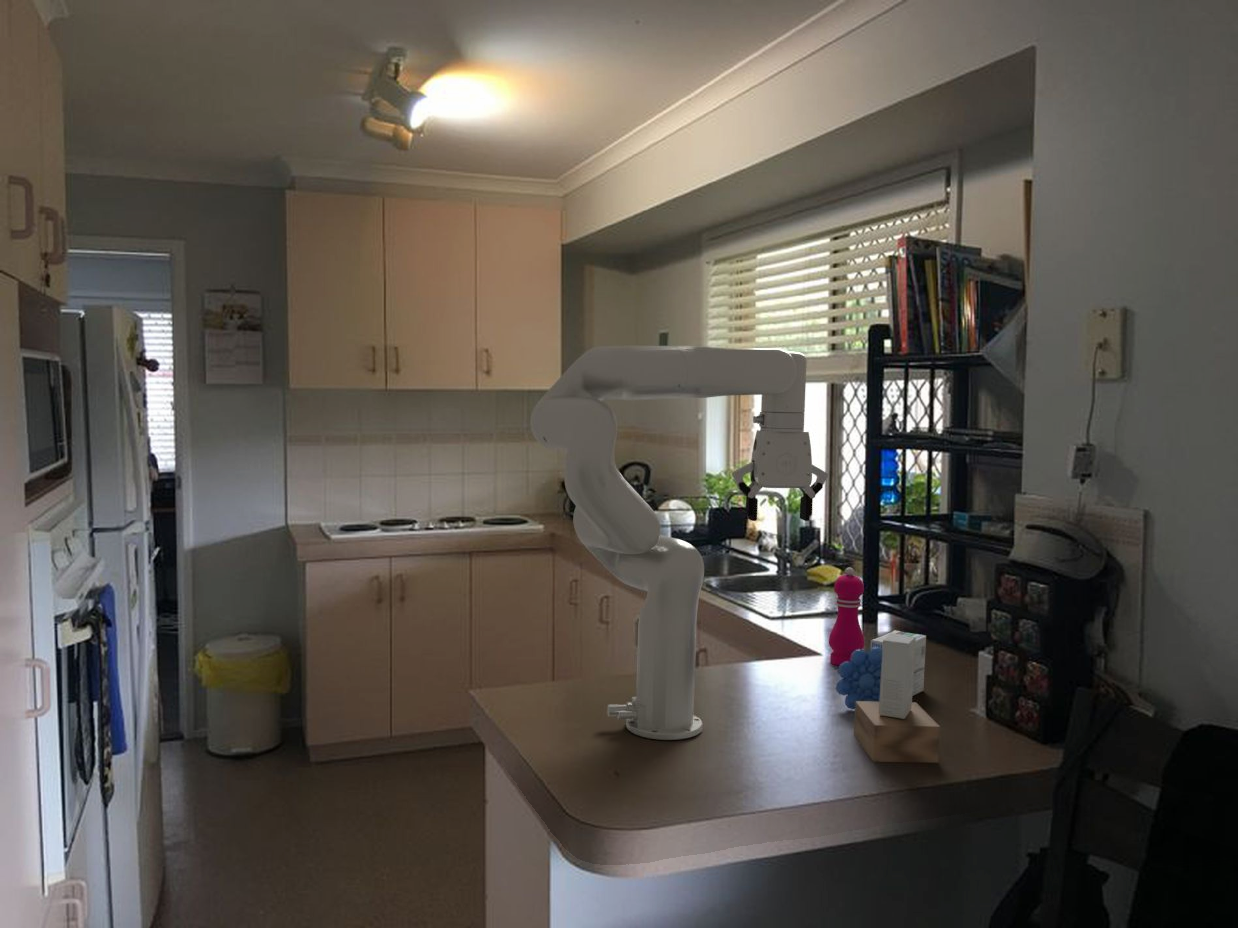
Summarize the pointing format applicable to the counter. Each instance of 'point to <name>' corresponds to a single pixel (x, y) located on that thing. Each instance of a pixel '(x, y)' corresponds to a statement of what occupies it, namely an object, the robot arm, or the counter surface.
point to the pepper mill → (846, 618)
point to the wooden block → (896, 734)
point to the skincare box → (897, 675)
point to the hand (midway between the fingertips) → (778, 519)
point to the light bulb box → (918, 659)
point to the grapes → (861, 677)
